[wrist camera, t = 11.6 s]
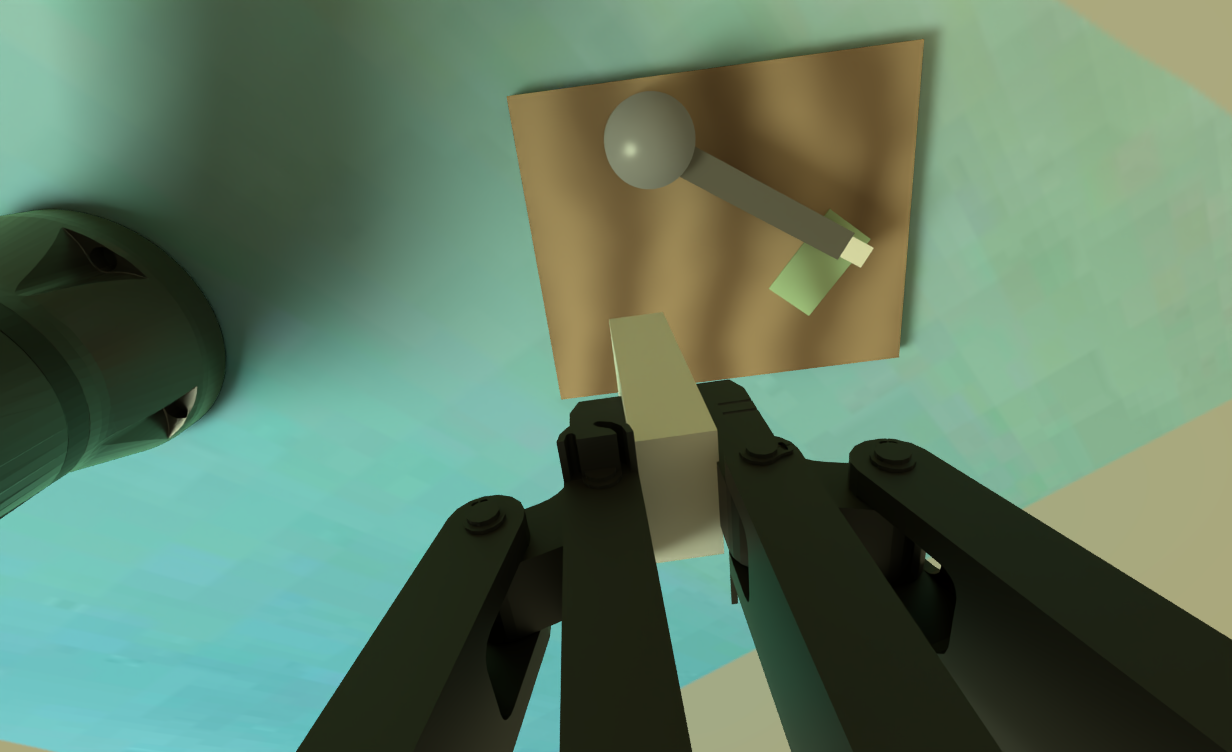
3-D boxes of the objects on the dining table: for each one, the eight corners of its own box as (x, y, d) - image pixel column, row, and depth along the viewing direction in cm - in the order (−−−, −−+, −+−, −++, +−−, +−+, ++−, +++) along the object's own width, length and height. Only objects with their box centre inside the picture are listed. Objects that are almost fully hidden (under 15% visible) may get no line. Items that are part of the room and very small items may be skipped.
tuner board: (562, 391, 39) (561, 400, 38) (509, 97, 32) (506, 96, 31) (890, 350, 38) (899, 357, 37) (912, 42, 31) (924, 38, 30)
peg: (590, 159, 32) (589, 164, 28) (625, 78, 30) (629, 73, 27) (824, 279, 35) (850, 297, 31) (866, 212, 34) (899, 223, 30)
